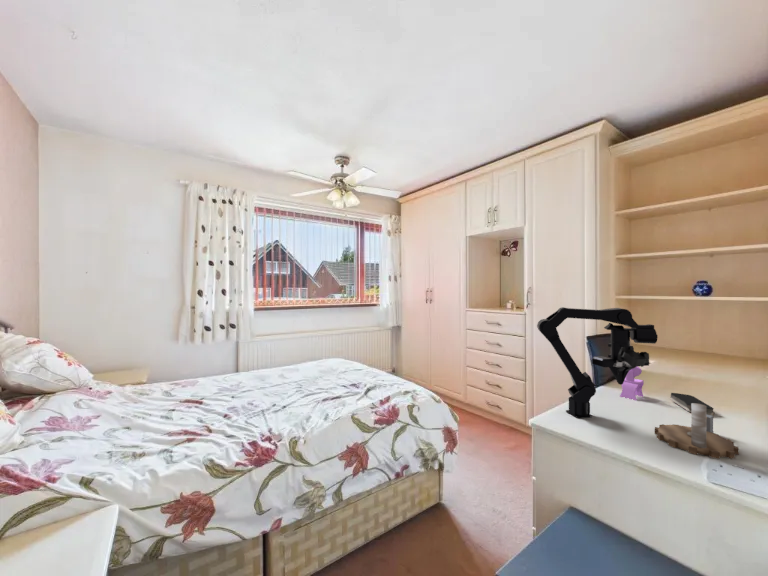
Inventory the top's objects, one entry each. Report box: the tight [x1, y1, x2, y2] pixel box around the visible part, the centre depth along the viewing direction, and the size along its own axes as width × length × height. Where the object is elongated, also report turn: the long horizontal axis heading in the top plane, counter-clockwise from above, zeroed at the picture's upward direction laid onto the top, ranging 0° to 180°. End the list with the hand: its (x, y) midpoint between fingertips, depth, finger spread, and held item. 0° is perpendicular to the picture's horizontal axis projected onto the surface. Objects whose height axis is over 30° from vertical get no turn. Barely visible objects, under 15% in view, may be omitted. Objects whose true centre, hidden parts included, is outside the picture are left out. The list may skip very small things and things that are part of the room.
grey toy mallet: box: [706, 414, 714, 433], centre depth 107 cm, size 3×6×6 cm, turn 123°
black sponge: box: [670, 392, 715, 417], centre depth 130 cm, size 16×8×4 cm, turn 160°
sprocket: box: [654, 403, 740, 460], centre depth 101 cm, size 19×19×14 cm
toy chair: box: [619, 366, 645, 401], centre depth 143 cm, size 8×9×15 cm
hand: (620, 384), depth 119 cm, fingers closed
